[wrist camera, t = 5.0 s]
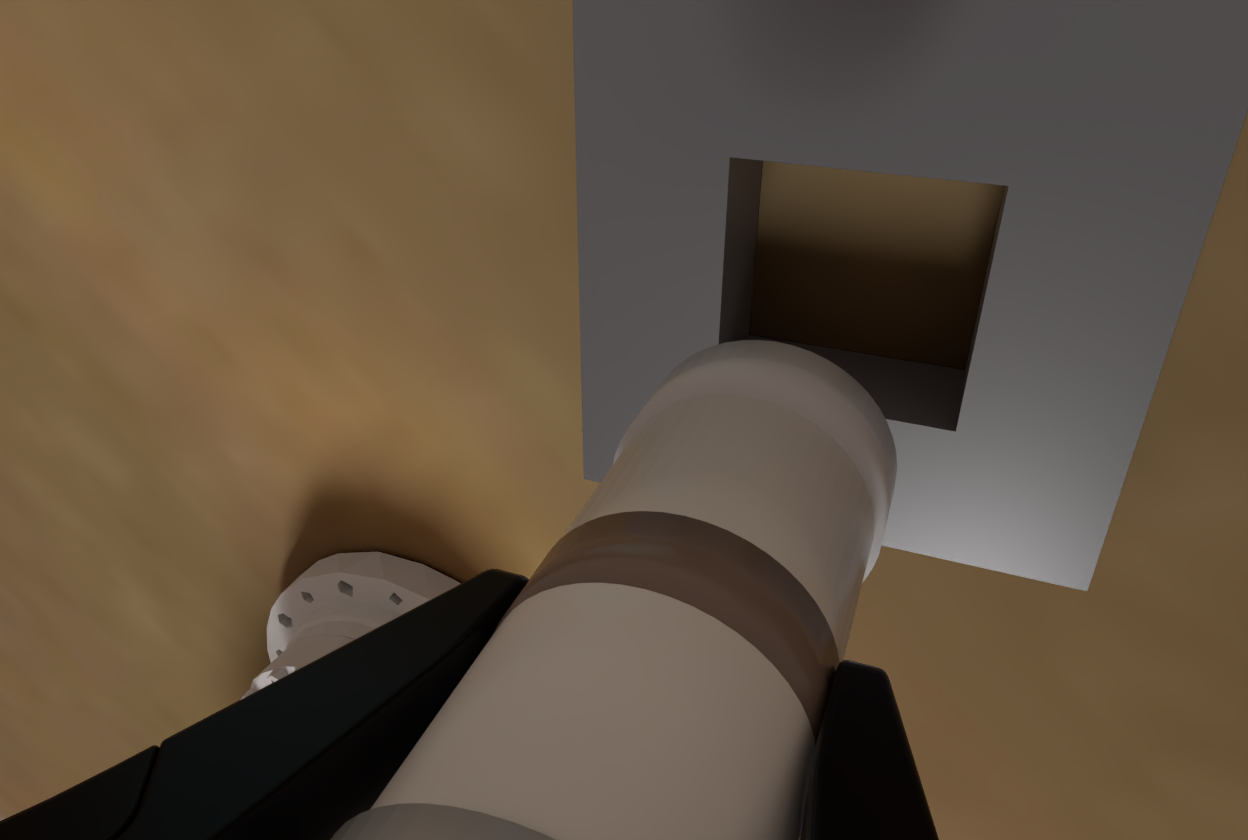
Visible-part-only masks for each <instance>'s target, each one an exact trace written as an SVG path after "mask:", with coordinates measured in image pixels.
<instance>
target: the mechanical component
mask: <svg viewBox="0 0 1248 840" xmlns="http://www.w3.org/2000/svg"><path fill="white" fill-rule="evenodd" d="M459 584H460V583H459V582H457V581H456V580H454V579H452V578H450V577H448V576H446V575H444V574H442V573H440V572H438V571H436V570H434V569H432V568H430V567H428V566H425V565H423V564H420V563H417V562H413V561H410V560H406V559H403V558H399V557H396V556H392V555H388V554H385V553H381V552H357V553H338V554H335V555H332V556H329V557H326V558H324V559H321V560H318V561H317V562H316V563H315V564H313V565H312V566H311V567H310V568H309V569H307V570H306V571H305V572H304V573H303V574H301V575H300V576H299V577H298V578H297V579H296V580H295V581H294V582H293V583H292V584H291V585H290V586H289V587H288V588H286V589H285V590H284V591H283V592H282V593H281V595H280V596H279V598H278V599H277V601H276V602H275V604H274V605H273V607H272V609H271V612H270V616H269V620H268V624H267V651H268V654H269V658H270V662H271V664H270V665H268V666H267V667H266V668H265V669H264V670H263V671H262V672H261V673H260V674H259V675H258V676H257V677H256V678H255V679H254V680H253V681H252V684H251V687H250V690H248V691H247V692H246V693H245V694H244V695H243V697H242V698H241V699H243V698H245V697H247V696H248V695H250V694H252V693H254V692H256V691H258V690H260V689H262V688H264V687H266V686H267V685H269V684H271V683H273V682H275V681H277V680H279V679H281V678H283V677H285V676H286V675H288V674H290V673H292V672H294V671H296V670H298V669H300V668H302V667H304V666H305V665H307V664H309V663H311V662H313V661H315V660H317V659H319V658H321V657H323V656H324V655H326V654H328V653H330V652H332V651H334V650H336V649H338V648H340V647H342V646H343V645H345V644H347V643H349V642H351V641H353V640H355V639H357V638H359V637H361V636H362V635H364V634H366V633H368V632H370V631H372V630H374V629H376V628H378V627H379V626H381V625H383V624H385V623H387V622H389V621H391V620H393V619H395V618H397V617H398V616H400V615H402V614H404V613H406V612H408V611H410V610H412V609H414V608H416V607H417V606H419V605H421V604H423V603H425V602H427V601H429V600H431V599H433V598H435V597H436V596H438V595H440V594H442V593H444V592H446V591H448V590H450V589H452V588H454V587H455V586H457V585H459ZM241 699H240V700H241Z"/></svg>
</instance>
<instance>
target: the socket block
mask: <svg viewBox="0 0 1248 840" xmlns="http://www.w3.org/2000/svg"><path fill="white" fill-rule="evenodd" d="M573 37H574V79H575V122H576V164H577V206H578V249H579V291H580V333H581V376H582V418H583V460H584V479H587V480H591V481H596V482H600V483H601V481H602V480H603V478H604V477H605V475H606V474H607V473H608V471H609V470H610V468H611V467H612V466H613V462H614V458H615V453H616V451H617V448H618V446H619V444H620V441H621V439H622V438H623V436H624V434H625V433H626V431H627V429H628V428H629V426H630V425H631V424H632V422H633V421H634V420H635V418H636V417H637V415H638V414H639V413H640V411H641V410H642V408H643V407H644V406H645V404H646V403H647V402H648V400H649V399H650V397H651V396H652V395H653V393H654V392H655V391H656V389H657V388H658V386H659V385H660V384H661V382H662V381H663V380H664V379H665V377H666V376H667V375H668V374H669V373H670V372H671V371H672V370H673V369H674V368H675V367H676V366H677V365H679V364H680V363H681V362H682V361H684V360H685V359H687V358H688V357H690V356H692V355H693V354H695V353H697V352H699V351H702V350H704V349H706V348H708V347H711V346H715V345H718V344H722V343H726V342H733V341H740V340H765V341H775V342H780V343H784V344H789V345H793V346H796V347H799V348H802V349H805V350H808V351H811V352H813V353H815V354H817V355H819V356H821V357H823V358H825V359H827V360H829V361H830V362H832V363H834V364H835V365H837V366H838V367H840V368H841V369H843V370H844V371H845V372H847V373H848V374H849V375H850V376H851V377H853V378H854V379H855V380H856V381H857V382H858V383H859V384H860V385H861V386H862V387H863V388H864V389H865V390H866V391H867V392H868V393H869V394H870V396H871V397H872V398H873V400H874V401H875V403H876V404H877V405H878V407H879V408H880V410H881V412H882V414H883V415H884V417H885V419H886V421H887V423H888V425H889V428H890V431H891V433H892V436H893V439H894V444H895V449H896V454H897V477H896V484H895V489H894V493H893V497H892V502H891V506H890V510H889V515H888V519H887V523H886V528H885V532H884V536H883V541H882V544H881V545H882V546H887V547H891V548H896V549H900V550H905V551H909V552H914V553H918V554H923V555H927V556H932V557H936V558H941V559H945V560H950V561H954V562H959V563H963V564H967V565H972V566H976V567H981V568H985V569H990V570H994V571H999V572H1003V573H1008V574H1012V575H1017V576H1021V577H1026V578H1030V579H1035V580H1039V581H1044V582H1048V583H1053V584H1057V585H1062V586H1066V587H1071V588H1075V589H1080V590H1084V591H1087V590H1088V587H1089V584H1090V581H1091V578H1092V575H1093V572H1094V569H1095V566H1096V563H1097V560H1098V557H1099V554H1100V551H1101V548H1102V546H1103V543H1104V540H1105V537H1106V534H1107V531H1108V528H1109V525H1110V522H1111V519H1112V516H1113V513H1114V510H1115V507H1116V504H1117V501H1118V498H1119V495H1120V492H1121V489H1122V486H1123V483H1124V480H1125V477H1126V474H1127V471H1128V468H1129V465H1130V462H1131V459H1132V456H1133V453H1134V450H1135V447H1136V444H1137V441H1138V438H1139V435H1140V432H1141V429H1142V426H1143V423H1144V420H1145V417H1146V414H1147V411H1148V408H1149V405H1150V402H1151V399H1152V396H1153V393H1154V390H1155V387H1156V384H1157V381H1158V378H1159V375H1160V372H1161V369H1162V366H1163V363H1164V360H1165V357H1166V354H1167V351H1168V348H1169V345H1170V342H1171V339H1172V336H1173V333H1174V330H1175V327H1176V324H1177V321H1178V318H1179V315H1180V312H1181V309H1182V306H1183V303H1184V300H1185V297H1186V294H1187V291H1188V288H1189V285H1190V282H1191V279H1192V276H1193V273H1194V270H1195V267H1196V264H1197V261H1198V258H1199V255H1200V252H1201V249H1202V246H1203V243H1204V240H1205V237H1206V234H1207V231H1208V228H1209V225H1210V222H1211V219H1212V216H1213V213H1214V210H1215V207H1216V204H1217V201H1218V198H1219V195H1220V192H1221V189H1222V186H1223V183H1224V180H1225V177H1226V174H1227V171H1228V168H1229V165H1230V162H1231V159H1232V156H1233V154H1234V151H1235V148H1236V145H1237V142H1238V139H1239V136H1240V133H1241V130H1242V127H1243V124H1244V121H1245V118H1246V115H1247V112H1248V0H573ZM762 161H771V162H781V163H791V164H801V165H810V166H820V167H830V168H839V169H849V170H859V171H868V172H878V173H888V174H897V175H907V176H917V177H926V178H936V179H946V180H955V181H965V182H975V183H984V184H994V185H1004V186H1005V187H1004V191H1003V196H1002V201H1001V205H1000V210H999V215H998V219H997V224H996V229H995V233H994V238H993V243H992V247H991V252H990V257H989V262H988V266H987V271H986V276H985V280H984V285H983V290H982V294H981V299H980V304H979V308H978V313H977V318H976V322H975V327H974V332H973V337H972V341H971V346H970V351H969V355H968V360H967V365H966V369H965V370H962V369H956V368H950V367H943V366H937V365H931V364H925V363H919V362H913V361H906V360H900V359H894V358H888V357H882V356H876V355H869V354H863V353H857V352H851V351H845V350H839V349H833V348H826V347H820V346H814V345H808V344H802V343H796V342H789V341H783V340H777V339H771V338H765V337H759V336H753V335H749V327H750V315H751V302H752V289H753V276H754V263H755V251H756V238H757V225H758V212H759V199H760V187H761V174H762Z"/></svg>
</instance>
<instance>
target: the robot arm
mask: <svg viewBox="0 0 1248 840" xmlns="http://www.w3.org/2000/svg"><path fill="white" fill-rule="evenodd" d="M528 581H529V579H528V578H526V577H525V576H522V575H518V574H515V573H511V572H507V571H503V570H499V569H489V570H486V571H484V572H482V573H480V574H478V575H476V576H474V577H473V578H471V579H469V580H467V581H465V582H463V583H461V584H459V585H457V586H455V587H454V588H452V589H450V590H448V591H446V592H444V593H442V594H440V595H438V596H436V597H435V598H433V599H431V600H429V601H427V602H425V603H423V604H421V605H419V606H417V607H416V608H414V609H412V610H410V611H408V612H406V613H404V614H402V615H400V616H398V617H397V618H395V619H393V620H391V621H389V622H387V623H385V624H383V625H381V626H379V627H378V628H376V629H374V630H372V631H370V632H368V633H366V634H364V635H362V636H361V637H359V638H357V639H355V640H353V641H351V642H349V643H347V644H345V645H343V646H342V647H340V648H338V649H336V650H334V651H332V652H330V653H328V654H326V655H324V656H323V657H321V658H319V659H317V660H315V661H313V662H311V663H309V664H307V665H305V666H304V667H302V668H300V669H298V670H296V671H294V672H292V673H290V674H288V675H286V676H285V677H283V678H281V679H279V680H277V681H275V682H273V683H271V684H269V685H267V686H266V687H264V688H262V689H260V690H258V691H256V692H254V693H252V694H250V695H248V696H247V697H245V698H243V699H241V700H239V701H237V702H235V703H233V704H231V705H229V706H228V707H226V708H224V709H222V710H220V711H218V712H216V713H214V714H212V715H210V716H209V717H207V718H205V719H203V720H201V721H199V722H197V723H195V724H193V725H192V726H190V727H188V728H186V729H184V730H182V731H180V732H178V733H176V734H174V735H173V736H171V737H169V738H167V739H165V740H164V741H163V742H162V743H161V745H160V747H159V746H156V745H154V746H151V747H149V748H147V749H145V750H143V751H142V752H140V753H138V754H136V755H134V756H132V757H130V758H128V759H126V760H124V761H123V762H121V763H119V764H117V765H115V766H113V767H111V768H109V769H107V770H105V771H103V772H101V773H99V774H97V775H95V776H93V777H91V778H89V779H87V780H85V781H83V782H81V783H79V784H77V785H75V786H73V787H71V788H69V789H67V790H65V791H63V792H61V793H59V794H57V795H55V796H53V797H51V798H49V799H47V800H45V801H43V802H41V803H39V804H37V805H34V806H32V807H30V808H28V809H26V810H23V811H21V812H19V813H17V814H15V815H13V816H10V817H8V818H6V819H4V820H2V821H0V840H330V839H331V838H332V837H333V835H334V834H335V833H336V832H337V831H338V830H339V829H340V827H341V826H342V825H343V824H344V823H345V822H347V821H348V820H350V819H352V818H353V817H355V816H356V815H358V814H360V813H362V812H365V811H368V810H370V809H371V807H372V806H373V804H374V803H375V802H376V800H377V799H378V797H379V796H380V794H381V793H382V792H383V790H384V789H385V787H386V786H387V785H388V783H389V782H390V780H391V779H392V777H393V776H394V775H395V773H396V772H397V770H398V769H399V768H400V766H401V765H402V763H403V762H404V760H405V759H406V758H407V756H408V755H409V753H410V752H411V751H412V749H413V748H414V746H415V745H416V743H417V742H418V741H419V739H420V738H421V736H422V735H423V734H424V732H425V731H426V729H427V728H428V726H429V725H430V724H431V722H432V721H433V719H434V718H435V717H436V715H437V714H438V712H439V711H440V709H441V708H442V707H443V705H444V704H445V702H446V701H447V699H448V698H449V697H450V695H451V694H452V692H453V691H454V690H455V688H456V687H457V685H458V684H459V682H460V681H461V680H462V678H463V677H464V675H465V674H466V673H467V671H468V670H469V668H470V667H471V665H472V664H473V663H474V661H475V660H476V658H477V657H478V656H479V654H480V653H481V651H482V650H483V648H484V647H485V646H486V644H487V643H488V641H489V640H490V639H491V637H492V636H493V633H494V631H495V629H496V627H497V626H498V624H499V622H500V621H501V619H502V618H503V616H504V615H505V613H506V612H507V610H508V609H509V608H510V606H511V605H512V603H513V602H514V601H515V599H516V598H517V596H518V595H519V594H520V592H521V591H522V589H523V588H524V586H525V585H526V584H527V582H528ZM800 840H939V838H938V835H937V832H936V829H935V826H934V822H933V819H932V816H931V813H930V809H929V806H928V803H927V800H926V796H925V793H924V790H923V787H922V784H921V780H920V777H919V774H918V771H917V767H916V764H915V761H914V758H913V754H912V751H911V748H910V745H909V742H908V738H907V735H906V732H905V729H904V725H903V722H902V719H901V716H900V713H899V709H898V706H897V703H896V700H895V696H894V693H893V690H892V687H891V683H890V680H889V677H888V676H887V674H886V672H885V671H884V670H882V669H880V668H877V667H873V666H869V665H865V664H862V663H858V662H854V661H850V660H843V661H841V662H840V663H839V664H838V667H837V670H836V673H835V677H834V681H833V684H832V688H831V692H830V695H829V699H828V703H827V706H826V710H825V714H824V717H823V721H822V725H821V728H820V732H819V736H818V739H817V743H816V747H815V751H814V756H813V760H812V765H811V771H810V778H809V784H808V791H807V797H806V804H805V810H804V816H803V823H802V831H801V836H800Z"/></svg>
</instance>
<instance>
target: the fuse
mask: <svg viewBox="0 0 1248 840" xmlns="http://www.w3.org/2000/svg"><path fill="white" fill-rule="evenodd" d="M896 477H897V454H896V449H895V444H894V439H893V436H892V433H891V431H890V428H889V425H888V423H887V421H886V419H885V417H884V415H883V414H882V412H881V410H880V408H879V407H878V405H877V404H876V403H875V401H874V400H873V398H872V397H871V396H870V394H869V393H868V392H867V391H866V390H865V389H864V388H863V387H862V386H861V385H860V384H859V383H858V382H857V381H856V380H855V379H854V378H853V377H851V376H850V375H849V374H848V373H847V372H845V371H844V370H843V369H841V368H840V367H838V366H837V365H835V364H834V363H832V362H830V361H829V360H827V359H825V358H823V357H821V356H819V355H817V354H815V353H813V352H811V351H808V350H805V349H802V348H799V347H796V346H793V345H789V344H784V343H780V342H775V341H765V340H740V341H733V342H726V343H722V344H718V345H715V346H711V347H708V348H706V349H704V350H702V351H699V352H697V353H695V354H693V355H692V356H690V357H688V358H687V359H685V360H684V361H682V362H681V363H680V364H679V365H677V366H676V367H675V368H674V369H673V370H672V371H671V372H670V373H669V374H668V375H667V376H666V377H665V379H664V380H663V381H662V382H661V384H660V385H659V386H658V388H657V389H656V391H655V392H654V393H653V395H652V396H651V397H650V399H649V400H648V402H647V403H646V404H645V406H644V407H643V408H642V410H641V411H640V413H639V414H638V415H637V417H636V418H635V420H634V421H633V422H632V424H631V425H630V426H629V428H628V429H627V431H626V433H625V434H624V436H623V438H622V439H621V441H620V444H619V446H618V448H617V451H616V453H615V458H614V462H613V466H612V467H611V468H610V470H609V471H608V473H607V474H606V475H605V477H604V478H603V480H602V481H601V483H600V484H599V485H598V487H597V488H596V490H595V491H594V492H593V494H592V495H591V497H590V498H589V500H588V501H587V502H586V504H585V505H584V507H583V508H582V510H581V511H580V512H579V514H578V515H577V517H576V518H575V519H574V521H573V522H572V524H571V525H570V527H569V528H568V529H567V531H566V532H565V534H564V535H563V536H562V538H561V539H560V540H559V541H558V542H557V543H556V544H555V545H554V547H553V548H552V549H551V550H550V551H549V553H548V554H547V555H546V557H545V558H544V560H543V561H542V563H541V564H540V565H539V567H538V568H537V570H536V571H535V572H534V574H533V575H532V577H531V578H530V579H529V581H528V582H527V584H526V585H525V586H524V588H523V589H522V591H521V592H520V594H519V595H518V596H517V598H516V599H515V601H514V602H513V603H512V605H511V606H510V608H509V609H508V610H507V612H506V613H505V615H504V616H503V618H502V619H501V621H500V622H499V624H498V626H497V627H496V629H495V631H494V633H493V636H492V637H491V639H490V640H489V641H488V643H487V644H486V646H485V647H484V648H483V650H482V651H481V653H480V654H479V656H478V657H477V658H476V660H475V661H474V663H473V664H472V665H471V667H470V668H469V670H468V671H467V673H466V674H465V675H464V677H463V678H462V680H461V681H460V682H459V684H458V685H457V687H456V688H455V690H454V691H453V692H452V694H451V695H450V697H449V698H448V699H447V701H446V702H445V704H444V705H443V707H442V708H441V709H440V711H439V712H438V714H437V715H436V717H435V718H434V719H433V721H432V722H431V724H430V725H429V726H428V728H427V729H426V731H425V732H424V734H423V735H422V736H421V738H420V739H419V741H418V742H417V743H416V745H415V746H414V748H413V749H412V751H411V752H410V753H409V755H408V756H407V758H406V759H405V760H404V762H403V763H402V765H401V766H400V768H399V769H398V770H397V772H396V773H395V775H394V776H393V777H392V779H391V780H390V782H389V783H388V785H387V786H386V787H385V789H384V790H383V792H382V793H381V794H380V796H379V797H378V799H377V800H376V802H375V803H374V804H373V806H372V807H371V809H370V810H368V811H365V812H362V813H360V814H358V815H356V816H355V817H353V818H352V819H350V820H348V821H347V822H345V823H344V824H343V825H342V826H341V827H340V829H339V830H338V831H337V832H336V833H335V834H334V835H333V837H332V838H331V839H330V840H799V839H800V835H801V831H802V823H803V816H804V810H805V804H806V797H807V791H808V784H809V778H810V771H811V765H812V760H813V756H814V751H815V747H816V743H817V739H818V736H819V732H820V728H821V725H822V721H823V717H824V714H825V710H826V706H827V703H828V699H829V695H830V692H831V688H832V684H833V681H834V677H835V673H836V670H837V667H838V664H839V663H840V662H841V661H843V660H844V656H845V652H846V648H847V644H848V640H849V636H850V631H851V627H852V623H853V619H854V615H855V611H856V607H857V603H858V599H859V595H860V591H861V587H862V583H863V582H864V580H865V579H866V577H867V576H868V575H869V573H870V572H871V570H872V569H873V566H874V564H875V562H876V560H877V558H878V556H879V552H880V548H881V544H882V541H883V536H884V532H885V528H886V523H887V519H888V515H889V510H890V506H891V502H892V497H893V493H894V489H895V484H896Z"/></svg>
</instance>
